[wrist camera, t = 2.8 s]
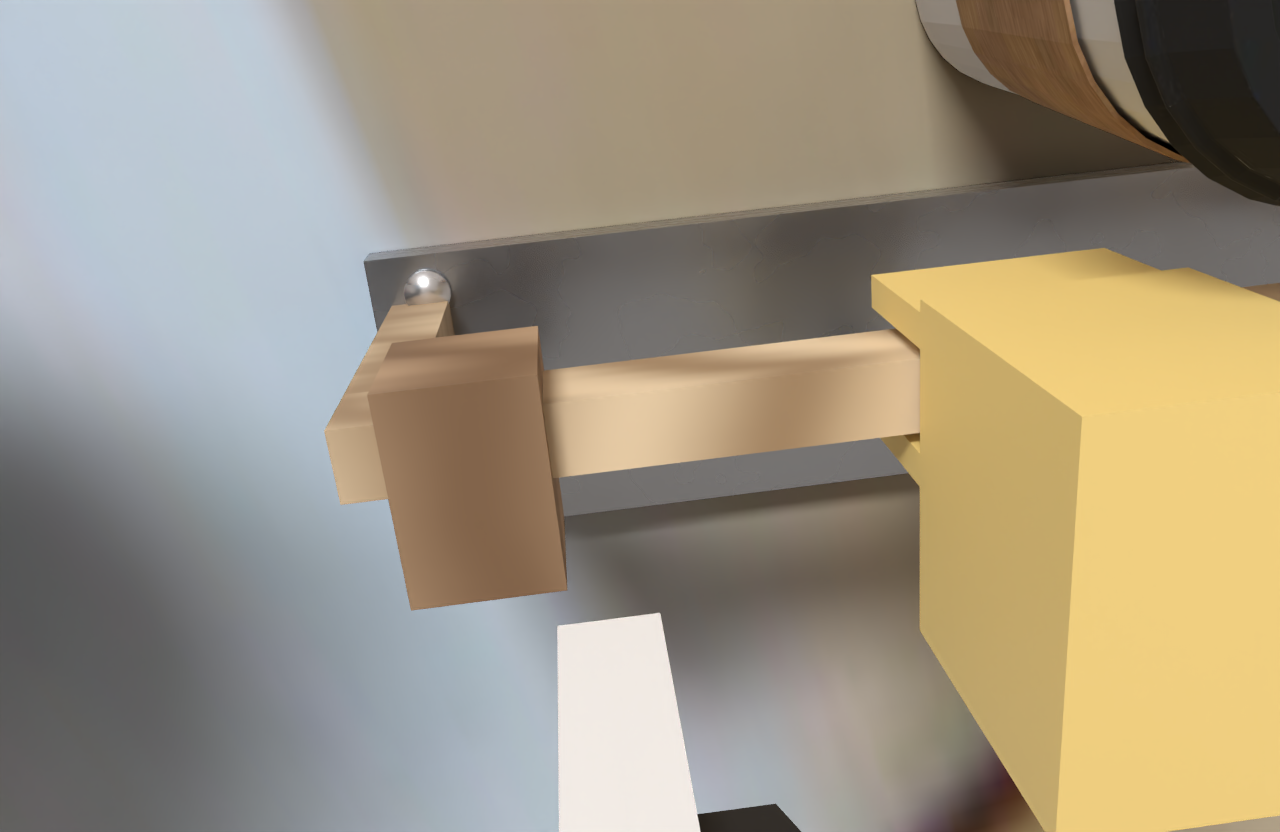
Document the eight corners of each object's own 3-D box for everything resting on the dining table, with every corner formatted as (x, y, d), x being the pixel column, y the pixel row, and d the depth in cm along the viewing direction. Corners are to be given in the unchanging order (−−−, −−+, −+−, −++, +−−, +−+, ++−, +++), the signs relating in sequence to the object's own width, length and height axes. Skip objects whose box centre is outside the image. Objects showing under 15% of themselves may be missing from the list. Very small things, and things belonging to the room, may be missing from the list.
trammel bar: (420, 458, 29) (365, 650, 20) (386, 278, 27) (309, 402, 18) (1414, 336, 30) (1776, 465, 21) (1446, 156, 28) (1858, 216, 19)
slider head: (814, 461, 29) (1054, 847, 16) (805, 215, 27) (1081, 416, 13) (986, 439, 30) (1372, 801, 16) (993, 193, 27) (1459, 370, 13)
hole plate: (421, 519, 31) (416, 538, 29) (369, 253, 28) (362, 263, 27) (1391, 397, 32) (1421, 411, 31) (1438, 132, 29) (1474, 136, 28)
